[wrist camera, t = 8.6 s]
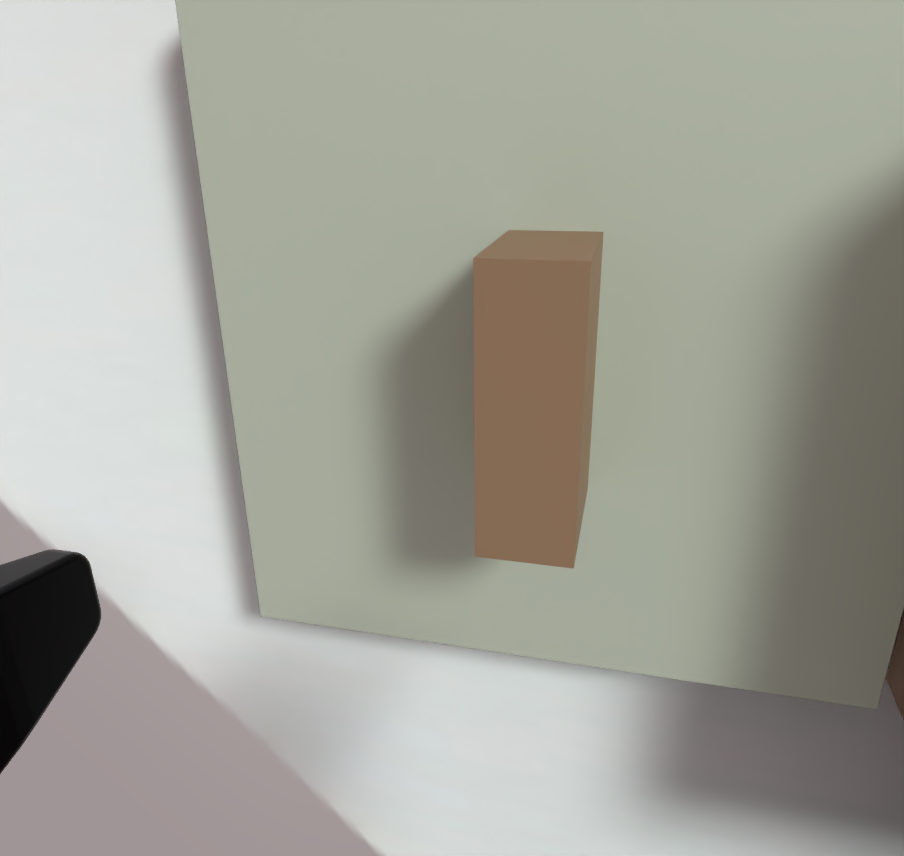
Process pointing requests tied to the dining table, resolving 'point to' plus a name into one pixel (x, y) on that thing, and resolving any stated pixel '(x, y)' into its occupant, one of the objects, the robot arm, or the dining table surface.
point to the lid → (568, 324)
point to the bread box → (898, 670)
